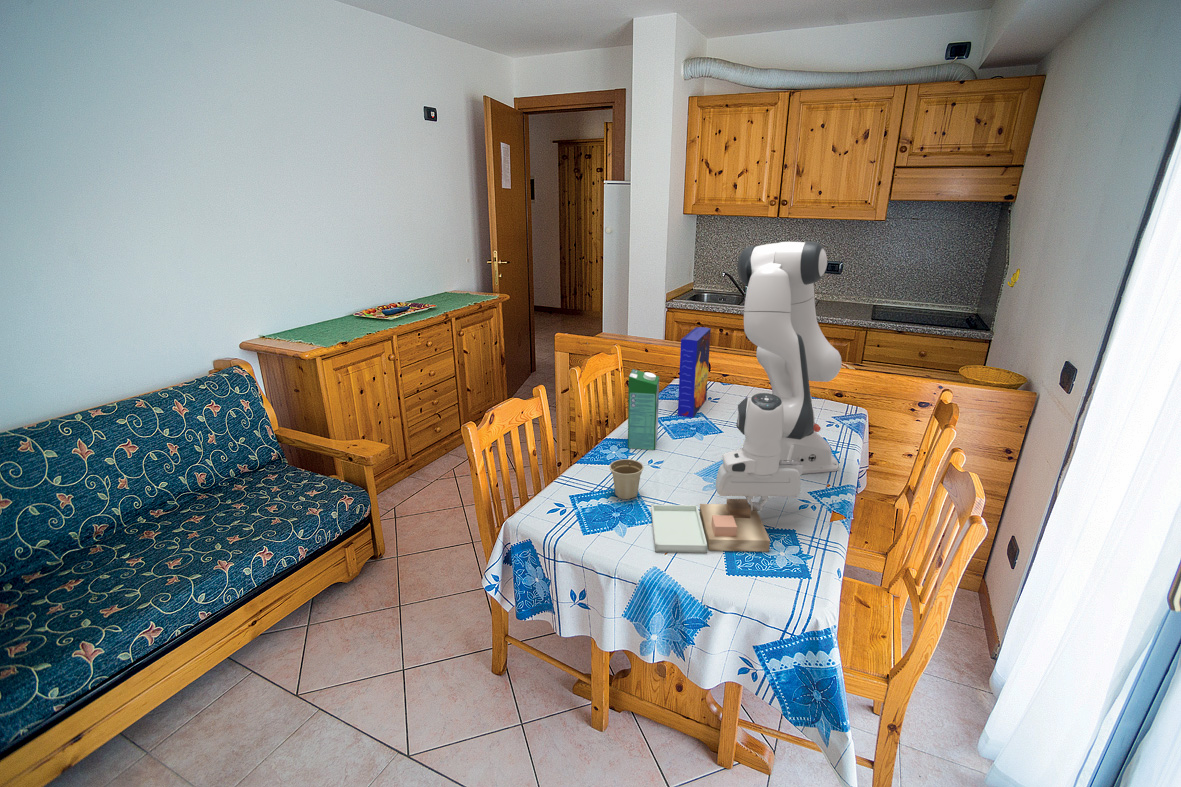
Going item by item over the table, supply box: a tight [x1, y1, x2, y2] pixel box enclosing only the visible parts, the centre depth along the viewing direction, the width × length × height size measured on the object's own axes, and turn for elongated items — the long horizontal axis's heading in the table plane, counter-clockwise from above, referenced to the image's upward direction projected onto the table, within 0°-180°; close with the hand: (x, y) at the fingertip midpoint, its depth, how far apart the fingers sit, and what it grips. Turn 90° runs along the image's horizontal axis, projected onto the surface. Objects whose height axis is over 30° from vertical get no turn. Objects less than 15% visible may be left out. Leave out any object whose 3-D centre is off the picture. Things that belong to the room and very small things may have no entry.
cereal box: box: [677, 326, 712, 419], centre depth 215 cm, size 22×6×30 cm, turn 156°
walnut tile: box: [726, 498, 751, 518], centre depth 140 cm, size 5×5×2 cm
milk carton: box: [627, 368, 660, 451], centre depth 184 cm, size 9×9×25 cm
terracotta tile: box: [711, 515, 737, 536], centre depth 133 cm, size 5×5×2 cm
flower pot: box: [609, 458, 645, 500], centre depth 155 cm, size 9×9×9 cm
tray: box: [650, 504, 708, 554], centre depth 138 cm, size 12×18×2 cm, turn 177°
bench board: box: [699, 503, 771, 553], centre depth 137 cm, size 14×16×3 cm
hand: (755, 509), depth 140 cm, fingers closed
